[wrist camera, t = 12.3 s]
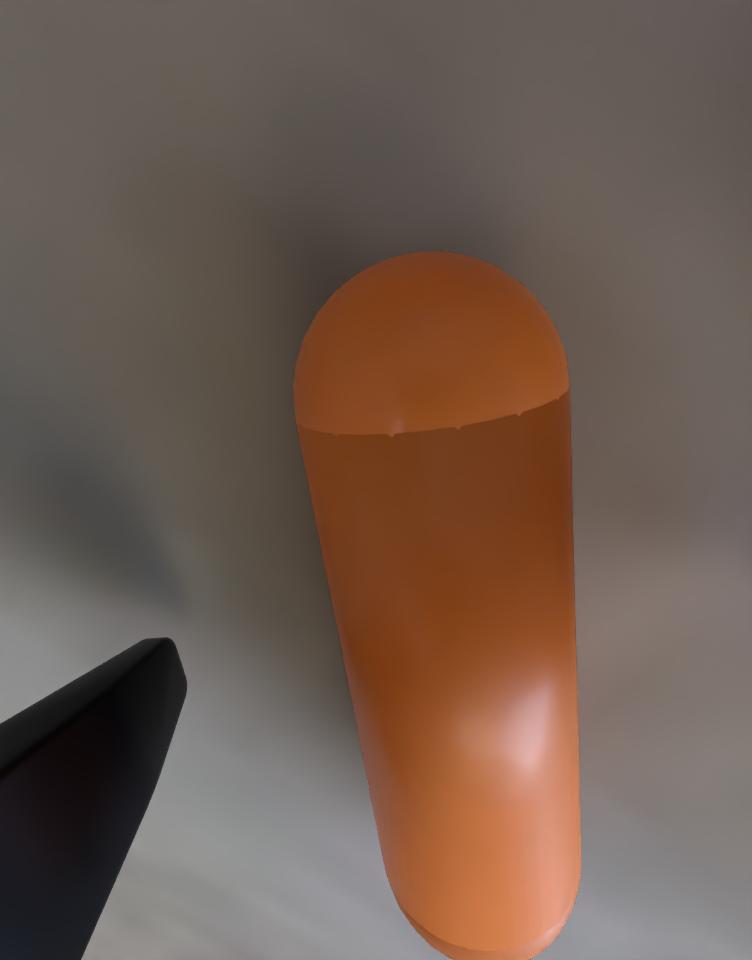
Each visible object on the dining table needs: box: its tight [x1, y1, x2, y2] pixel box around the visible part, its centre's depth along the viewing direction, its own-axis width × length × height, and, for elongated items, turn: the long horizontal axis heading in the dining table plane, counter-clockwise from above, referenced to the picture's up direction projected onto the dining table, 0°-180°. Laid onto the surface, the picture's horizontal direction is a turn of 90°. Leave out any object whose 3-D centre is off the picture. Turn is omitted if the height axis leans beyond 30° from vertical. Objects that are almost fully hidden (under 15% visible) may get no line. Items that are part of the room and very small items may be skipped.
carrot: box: [293, 251, 581, 960], centre depth 7 cm, size 11×3×3 cm, turn 8°
